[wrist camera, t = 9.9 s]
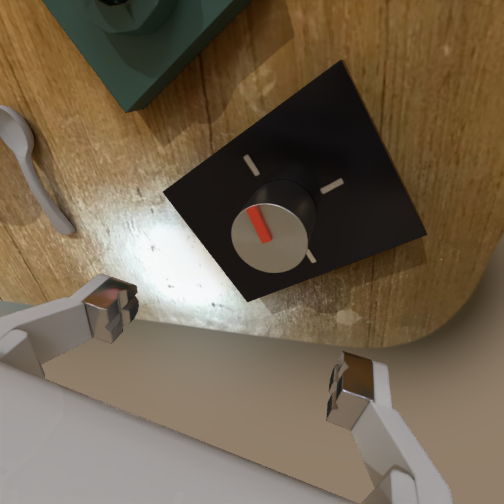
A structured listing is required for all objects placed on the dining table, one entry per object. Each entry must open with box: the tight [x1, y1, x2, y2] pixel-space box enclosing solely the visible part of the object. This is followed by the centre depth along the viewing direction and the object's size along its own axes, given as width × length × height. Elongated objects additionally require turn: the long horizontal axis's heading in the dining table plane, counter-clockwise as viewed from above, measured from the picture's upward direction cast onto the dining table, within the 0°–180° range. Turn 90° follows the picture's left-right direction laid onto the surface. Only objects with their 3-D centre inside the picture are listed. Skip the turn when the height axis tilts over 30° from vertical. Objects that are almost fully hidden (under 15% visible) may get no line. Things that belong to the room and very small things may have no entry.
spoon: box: [0, 105, 75, 235], centre depth 28 cm, size 3×12×2 cm, turn 7°
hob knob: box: [231, 180, 316, 273], centre depth 18 cm, size 4×4×4 cm
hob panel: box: [163, 60, 427, 302], centre depth 21 cm, size 14×11×3 cm
